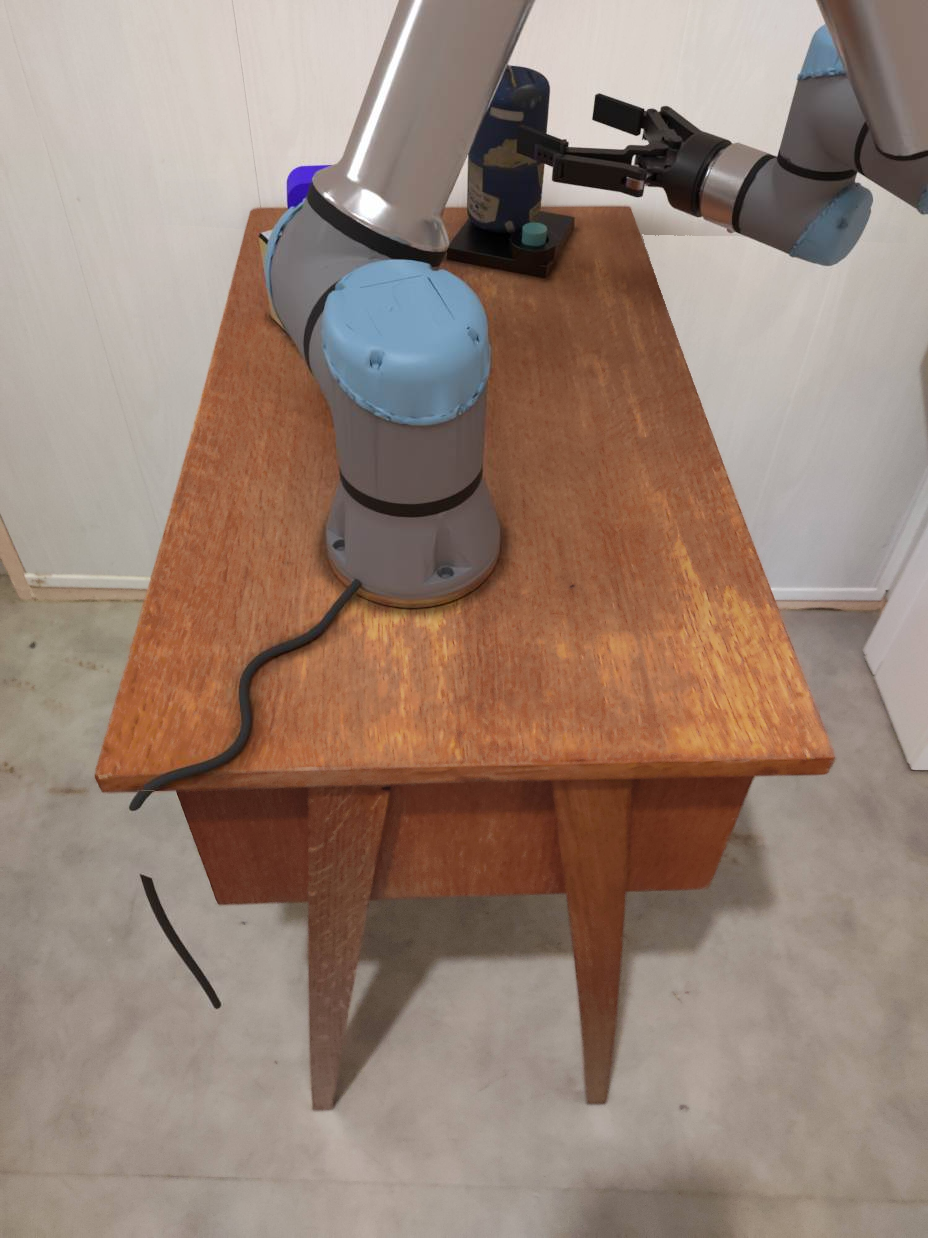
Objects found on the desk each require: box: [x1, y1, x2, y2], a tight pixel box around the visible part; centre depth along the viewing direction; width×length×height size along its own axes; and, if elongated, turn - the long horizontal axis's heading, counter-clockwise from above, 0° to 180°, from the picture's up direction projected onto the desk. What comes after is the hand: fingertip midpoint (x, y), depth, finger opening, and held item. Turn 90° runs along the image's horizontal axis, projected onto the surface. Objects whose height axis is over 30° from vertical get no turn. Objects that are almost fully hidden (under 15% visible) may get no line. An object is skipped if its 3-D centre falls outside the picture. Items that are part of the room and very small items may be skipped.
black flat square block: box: [446, 210, 576, 279], centre depth 112 cm, size 14×14×4 cm
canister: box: [466, 64, 551, 233], centre depth 107 cm, size 10×10×18 cm
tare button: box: [522, 223, 547, 246], centre depth 107 cm, size 3×3×2 cm
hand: (558, 121), depth 100 cm, fingers open, 13 cm apart
